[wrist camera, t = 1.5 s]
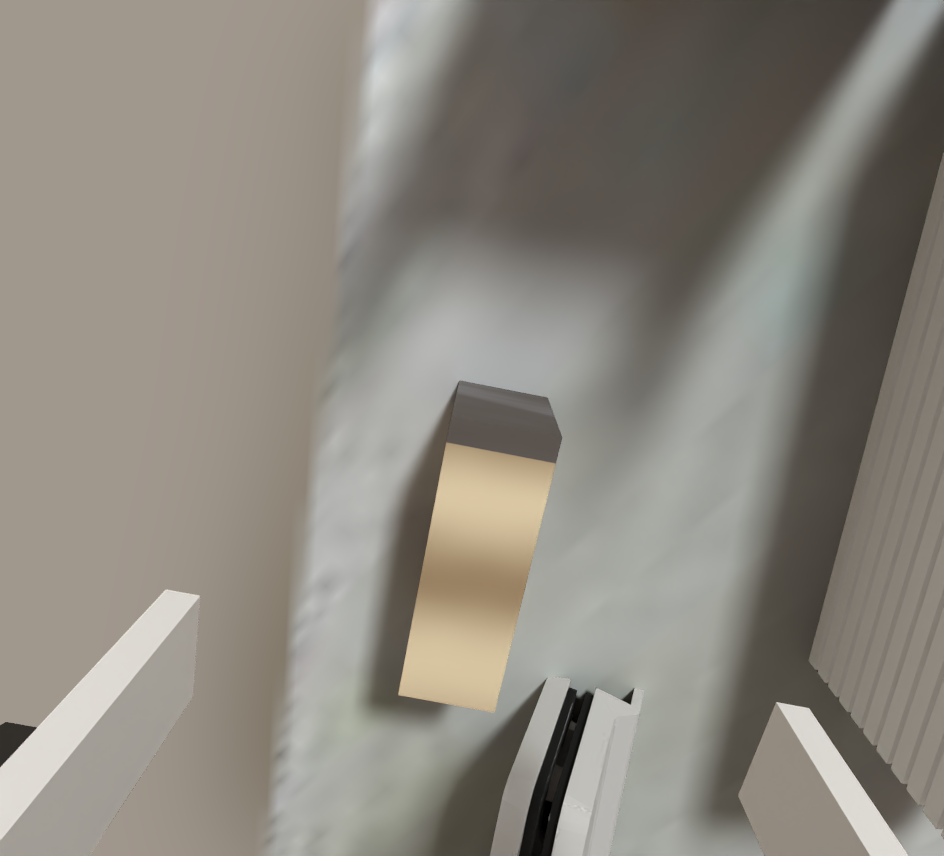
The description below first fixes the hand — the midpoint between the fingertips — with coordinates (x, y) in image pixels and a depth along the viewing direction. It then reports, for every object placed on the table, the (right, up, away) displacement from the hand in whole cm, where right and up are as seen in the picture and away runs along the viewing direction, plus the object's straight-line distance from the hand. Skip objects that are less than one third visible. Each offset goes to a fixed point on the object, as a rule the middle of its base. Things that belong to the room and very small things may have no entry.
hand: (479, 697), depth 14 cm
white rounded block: (+4, -14, +21) cm, 25 cm away
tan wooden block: (0, +2, +15) cm, 16 cm away
